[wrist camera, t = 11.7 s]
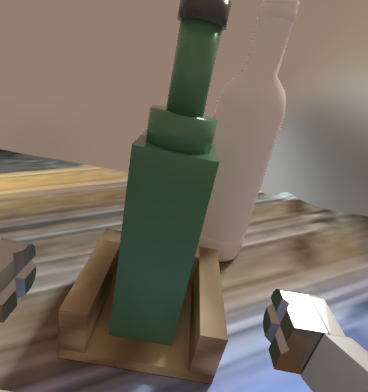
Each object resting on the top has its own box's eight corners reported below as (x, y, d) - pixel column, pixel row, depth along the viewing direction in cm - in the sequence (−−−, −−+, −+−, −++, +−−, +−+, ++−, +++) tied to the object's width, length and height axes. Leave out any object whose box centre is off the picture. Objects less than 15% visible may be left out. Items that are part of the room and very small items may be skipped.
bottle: (192, 263, 35) (266, -26, 23) (179, 229, 41) (230, -7, 29) (248, 263, 37) (342, 1, 25) (226, 231, 44) (292, 14, 32)
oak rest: (57, 357, 21) (58, 309, 19) (103, 266, 31) (106, 228, 29) (211, 383, 21) (227, 340, 19) (206, 285, 31) (217, 249, 29)
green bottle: (108, 335, 22) (152, -29, 13) (124, 289, 27) (165, 0, 17) (171, 346, 22) (262, -4, 13) (176, 299, 27) (244, 18, 17)
